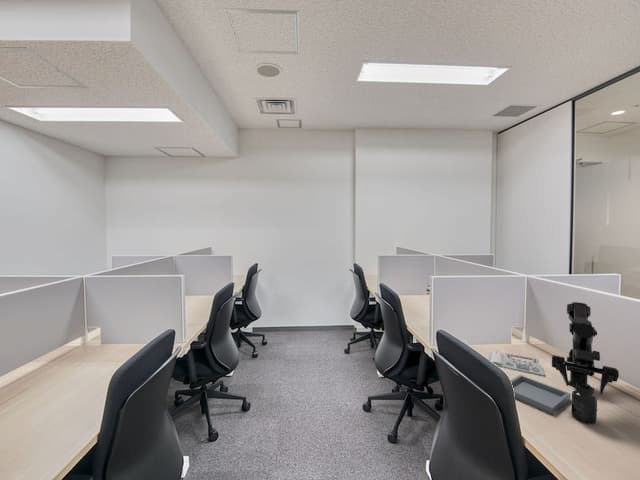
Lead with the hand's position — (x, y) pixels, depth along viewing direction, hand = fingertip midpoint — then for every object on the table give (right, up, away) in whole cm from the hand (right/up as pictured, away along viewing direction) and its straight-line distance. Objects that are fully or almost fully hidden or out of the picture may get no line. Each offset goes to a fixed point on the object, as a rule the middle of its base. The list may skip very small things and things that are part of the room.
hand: (583, 389), depth 106 cm
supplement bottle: (-2, -10, -2) cm, 10 cm away
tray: (-9, -9, +13) cm, 18 cm away
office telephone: (+4, -9, +43) cm, 45 cm away
